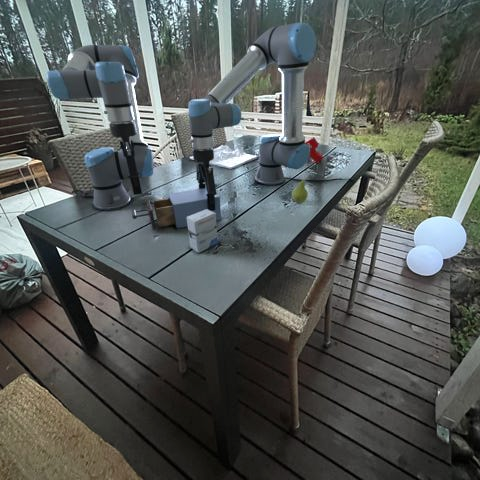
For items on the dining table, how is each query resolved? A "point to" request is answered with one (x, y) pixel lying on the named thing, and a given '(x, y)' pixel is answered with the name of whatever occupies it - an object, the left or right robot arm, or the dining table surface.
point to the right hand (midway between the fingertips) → (207, 204)
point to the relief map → (230, 157)
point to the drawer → (159, 212)
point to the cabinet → (191, 205)
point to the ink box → (202, 230)
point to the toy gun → (313, 153)
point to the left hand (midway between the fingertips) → (137, 193)
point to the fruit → (300, 192)
